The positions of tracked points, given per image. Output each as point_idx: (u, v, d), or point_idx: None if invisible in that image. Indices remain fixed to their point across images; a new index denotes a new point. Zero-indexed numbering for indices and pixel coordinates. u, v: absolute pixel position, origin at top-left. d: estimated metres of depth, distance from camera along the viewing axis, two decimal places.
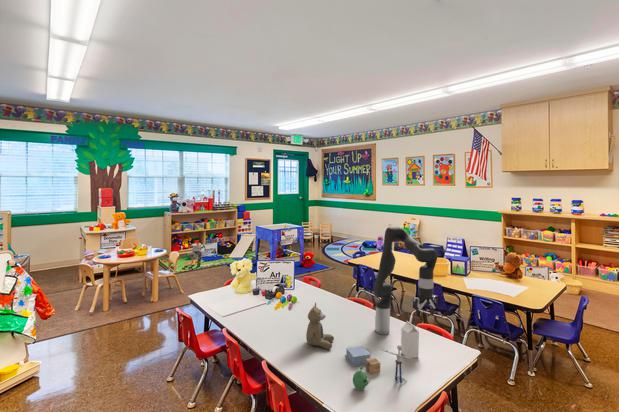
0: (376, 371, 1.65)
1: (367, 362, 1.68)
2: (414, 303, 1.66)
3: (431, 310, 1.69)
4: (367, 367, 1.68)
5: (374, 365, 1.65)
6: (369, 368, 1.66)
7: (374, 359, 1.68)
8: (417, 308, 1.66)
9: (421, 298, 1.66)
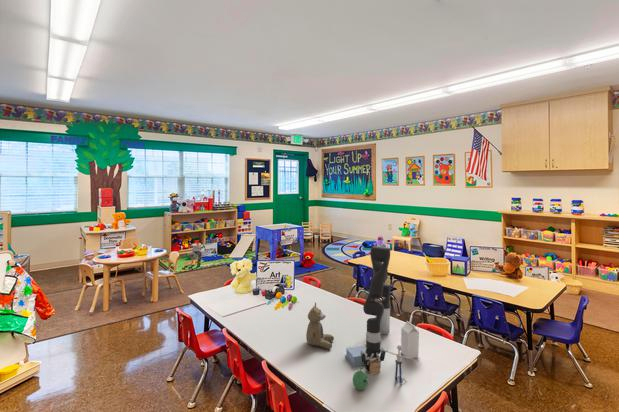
0: (376, 371, 1.65)
1: None
2: (362, 358, 1.65)
3: None
4: None
5: (374, 365, 1.65)
6: (369, 368, 1.66)
7: (374, 359, 1.68)
8: (366, 362, 1.66)
9: (368, 352, 1.65)
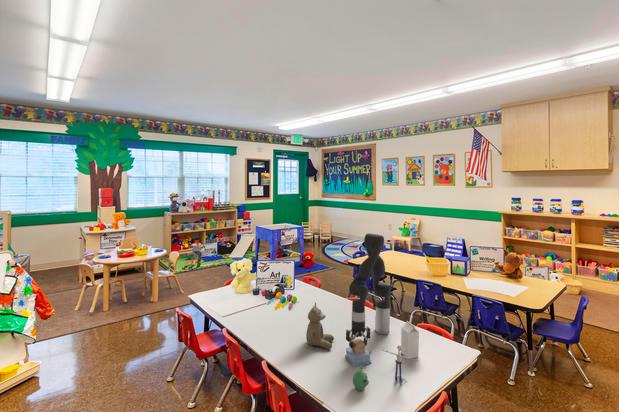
0: (361, 351, 1.76)
1: (353, 343, 1.78)
2: (347, 335, 1.75)
3: (364, 341, 1.79)
4: (353, 347, 1.78)
5: (359, 345, 1.75)
6: (354, 348, 1.76)
7: (360, 340, 1.79)
8: (349, 340, 1.76)
9: (353, 330, 1.75)
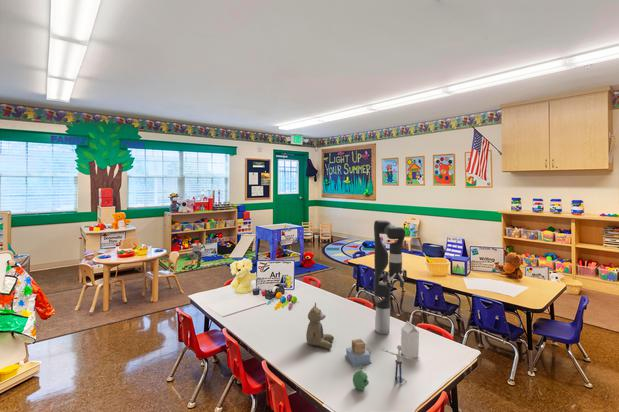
0: (361, 351, 1.76)
1: (353, 343, 1.78)
2: (384, 276, 1.84)
3: (400, 283, 1.87)
4: (353, 347, 1.78)
5: (359, 345, 1.75)
6: (354, 348, 1.76)
7: (360, 340, 1.79)
8: (387, 280, 1.84)
9: (391, 271, 1.84)
